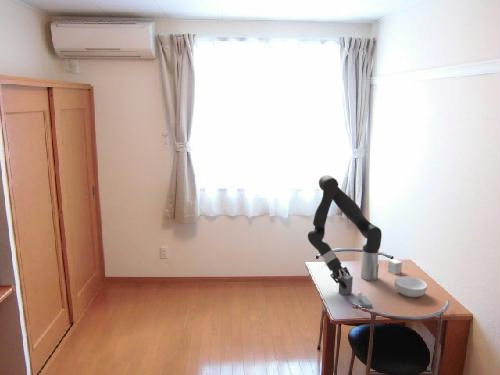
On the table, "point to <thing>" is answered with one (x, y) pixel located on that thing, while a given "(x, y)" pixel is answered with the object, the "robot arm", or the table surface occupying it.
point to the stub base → (362, 303)
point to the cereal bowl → (410, 286)
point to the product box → (394, 266)
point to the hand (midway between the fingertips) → (348, 286)
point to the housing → (348, 283)
